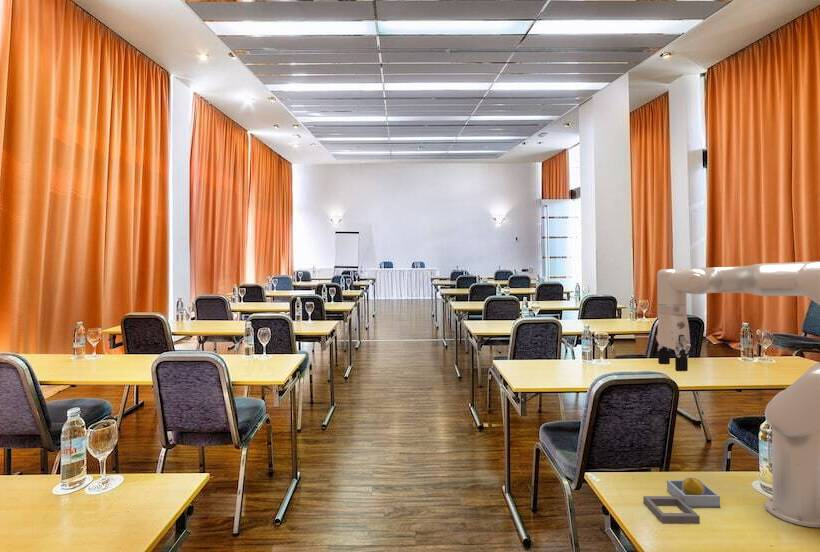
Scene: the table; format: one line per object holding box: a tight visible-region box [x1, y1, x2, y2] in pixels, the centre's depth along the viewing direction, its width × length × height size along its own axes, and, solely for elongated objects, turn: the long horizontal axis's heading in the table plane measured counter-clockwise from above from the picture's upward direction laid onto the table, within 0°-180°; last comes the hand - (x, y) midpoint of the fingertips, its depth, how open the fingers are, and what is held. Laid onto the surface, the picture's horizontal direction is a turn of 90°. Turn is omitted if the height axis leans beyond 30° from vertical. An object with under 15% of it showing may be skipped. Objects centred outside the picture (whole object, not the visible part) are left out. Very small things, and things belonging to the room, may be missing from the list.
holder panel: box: [643, 495, 701, 525], centre depth 118 cm, size 9×10×2 cm
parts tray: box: [666, 479, 721, 509], centre depth 124 cm, size 9×9×3 cm
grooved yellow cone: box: [682, 477, 705, 495], centre depth 123 cm, size 5×5×10 cm
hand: (672, 367), depth 136 cm, fingers open, 9 cm apart
